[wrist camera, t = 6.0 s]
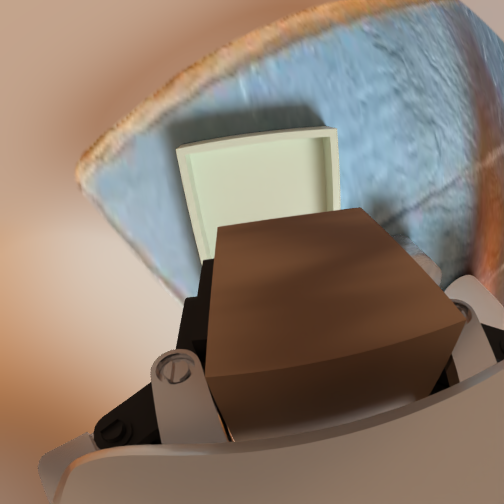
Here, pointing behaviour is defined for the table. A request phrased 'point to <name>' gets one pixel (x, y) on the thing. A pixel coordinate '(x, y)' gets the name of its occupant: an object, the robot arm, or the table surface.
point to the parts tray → (258, 178)
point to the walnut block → (320, 324)
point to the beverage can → (478, 300)
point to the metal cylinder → (419, 257)
